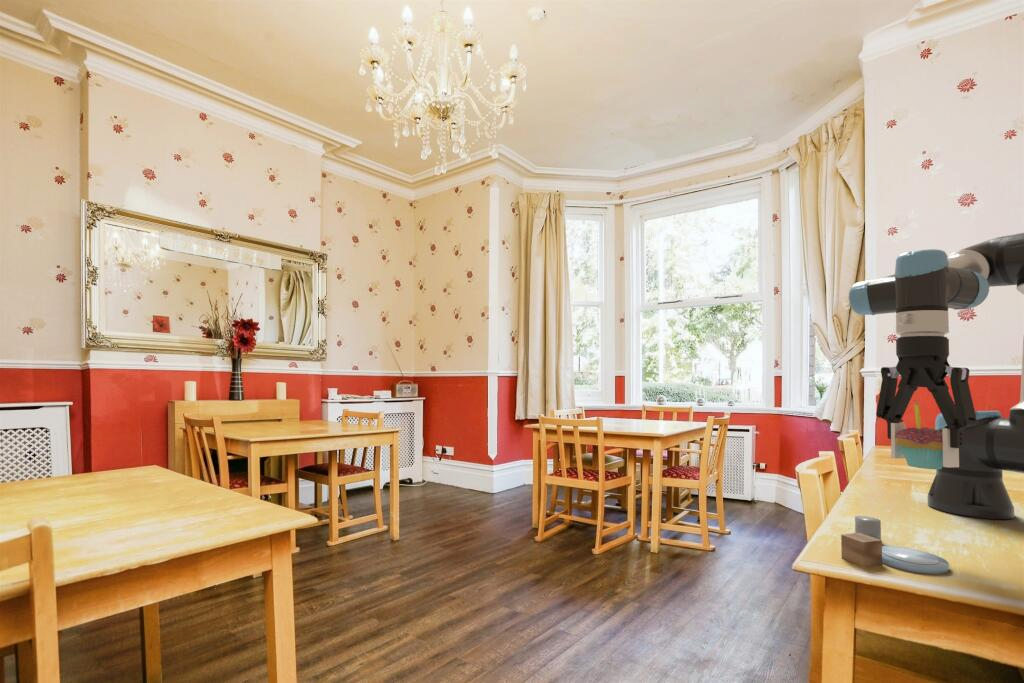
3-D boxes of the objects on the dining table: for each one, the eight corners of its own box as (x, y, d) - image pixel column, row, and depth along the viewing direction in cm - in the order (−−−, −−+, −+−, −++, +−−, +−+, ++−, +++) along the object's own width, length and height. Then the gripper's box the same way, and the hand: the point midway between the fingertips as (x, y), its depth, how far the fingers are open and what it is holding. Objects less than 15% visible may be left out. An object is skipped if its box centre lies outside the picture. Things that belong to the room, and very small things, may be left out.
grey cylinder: (866, 536, 100) (865, 515, 100) (886, 543, 96) (886, 521, 96) (850, 537, 99) (849, 516, 99) (870, 544, 95) (869, 522, 95)
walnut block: (859, 556, 89) (859, 532, 89) (882, 565, 85) (881, 540, 85) (841, 558, 88) (841, 534, 88) (863, 567, 84) (863, 542, 84)
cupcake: (936, 472, 87) (935, 401, 88) (883, 463, 95) (882, 398, 95) (965, 470, 90) (964, 401, 91) (912, 461, 98) (911, 398, 99)
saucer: (901, 549, 92) (901, 542, 92) (964, 571, 83) (964, 563, 83) (859, 554, 89) (858, 547, 89) (919, 577, 80) (919, 569, 80)
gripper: (852, 338, 103) (853, 453, 102) (973, 331, 83) (976, 474, 81) (881, 339, 105) (882, 452, 104) (1005, 333, 85) (1008, 473, 84)
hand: (923, 462), depth 93 cm, fingers closed on cupcake, 8 cm apart
